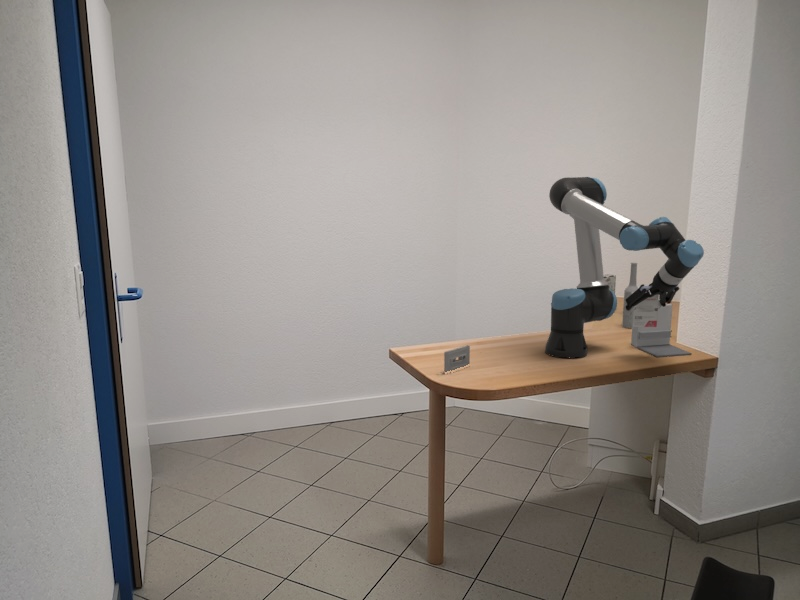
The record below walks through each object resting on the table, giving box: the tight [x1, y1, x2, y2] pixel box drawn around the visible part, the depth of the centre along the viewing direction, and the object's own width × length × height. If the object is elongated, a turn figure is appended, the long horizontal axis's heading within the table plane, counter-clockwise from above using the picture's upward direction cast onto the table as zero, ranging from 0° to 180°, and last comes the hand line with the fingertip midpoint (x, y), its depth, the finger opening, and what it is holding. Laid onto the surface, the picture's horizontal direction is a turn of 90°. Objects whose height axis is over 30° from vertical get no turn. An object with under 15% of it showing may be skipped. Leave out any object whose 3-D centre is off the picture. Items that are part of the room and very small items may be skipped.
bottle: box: [621, 262, 638, 330], centre depth 254 cm, size 7×7×28 cm
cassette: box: [443, 344, 471, 372], centre depth 201 cm, size 12×2×8 cm, turn 133°
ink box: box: [629, 292, 659, 327], centre depth 211 cm, size 9×5×12 cm, turn 84°
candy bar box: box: [603, 273, 617, 295], centre depth 294 cm, size 11×5×16 cm, turn 119°
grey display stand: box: [630, 303, 692, 358], centre depth 220 cm, size 14×18×16 cm
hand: (637, 312), depth 214 cm, fingers closed on ink box, 9 cm apart
